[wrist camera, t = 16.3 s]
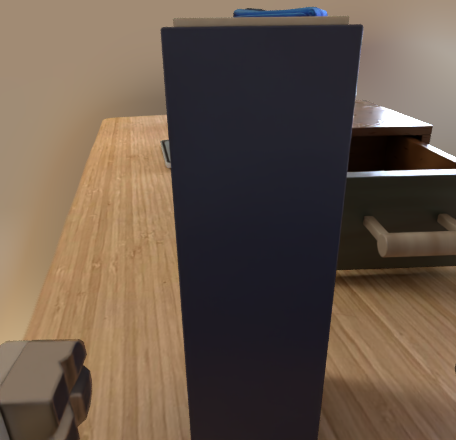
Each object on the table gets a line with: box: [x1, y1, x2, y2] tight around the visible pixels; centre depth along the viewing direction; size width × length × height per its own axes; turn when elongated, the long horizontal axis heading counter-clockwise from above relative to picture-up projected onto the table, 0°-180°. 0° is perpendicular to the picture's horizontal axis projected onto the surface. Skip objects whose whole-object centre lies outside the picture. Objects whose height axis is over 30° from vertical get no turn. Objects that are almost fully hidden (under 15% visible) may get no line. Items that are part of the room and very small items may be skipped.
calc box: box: [161, 16, 363, 440], centre depth 15 cm, size 5×5×16 cm
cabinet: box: [351, 100, 432, 145], centre depth 44 cm, size 17×14×9 cm
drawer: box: [336, 135, 456, 270], centre depth 32 cm, size 20×12×7 cm, turn 3°
